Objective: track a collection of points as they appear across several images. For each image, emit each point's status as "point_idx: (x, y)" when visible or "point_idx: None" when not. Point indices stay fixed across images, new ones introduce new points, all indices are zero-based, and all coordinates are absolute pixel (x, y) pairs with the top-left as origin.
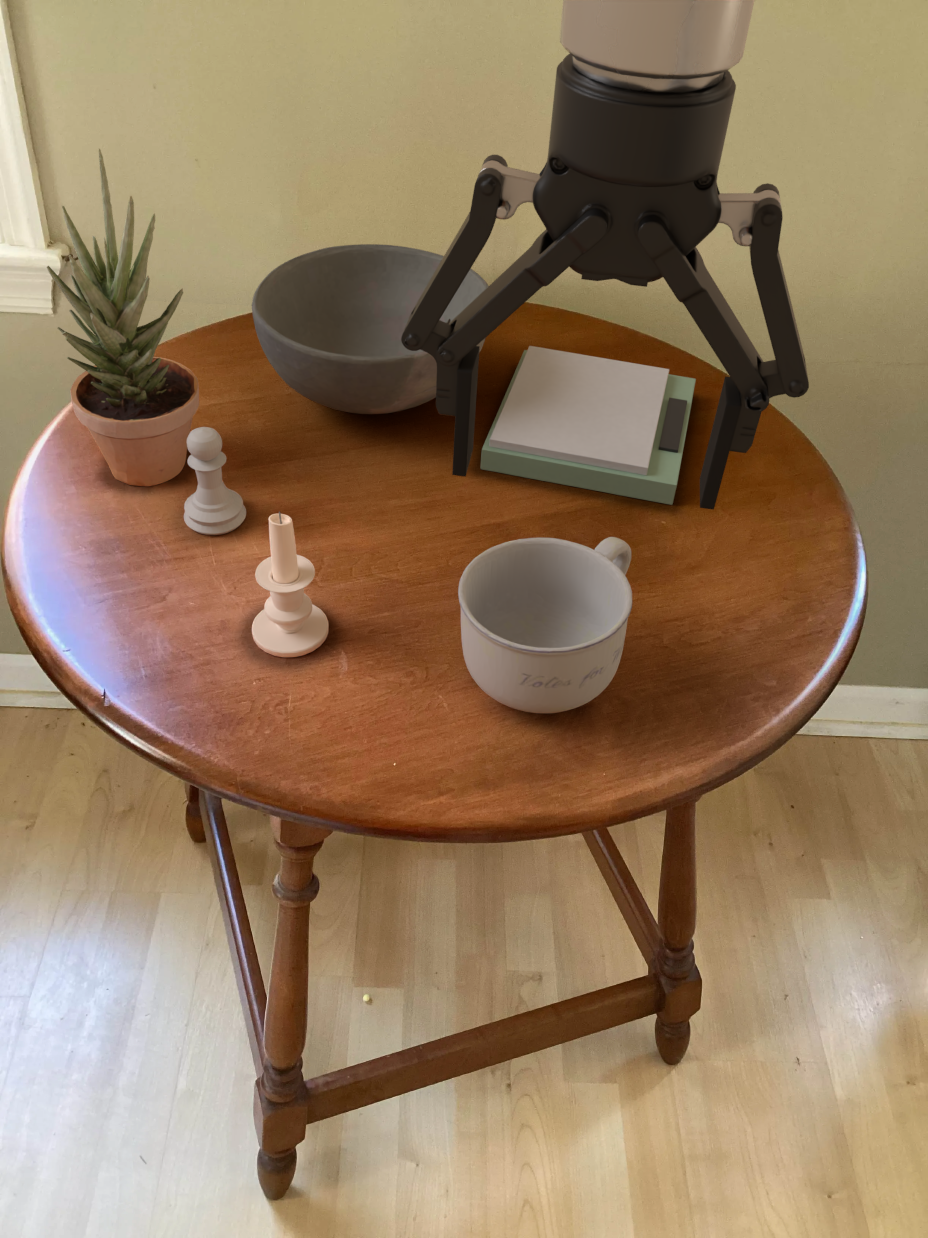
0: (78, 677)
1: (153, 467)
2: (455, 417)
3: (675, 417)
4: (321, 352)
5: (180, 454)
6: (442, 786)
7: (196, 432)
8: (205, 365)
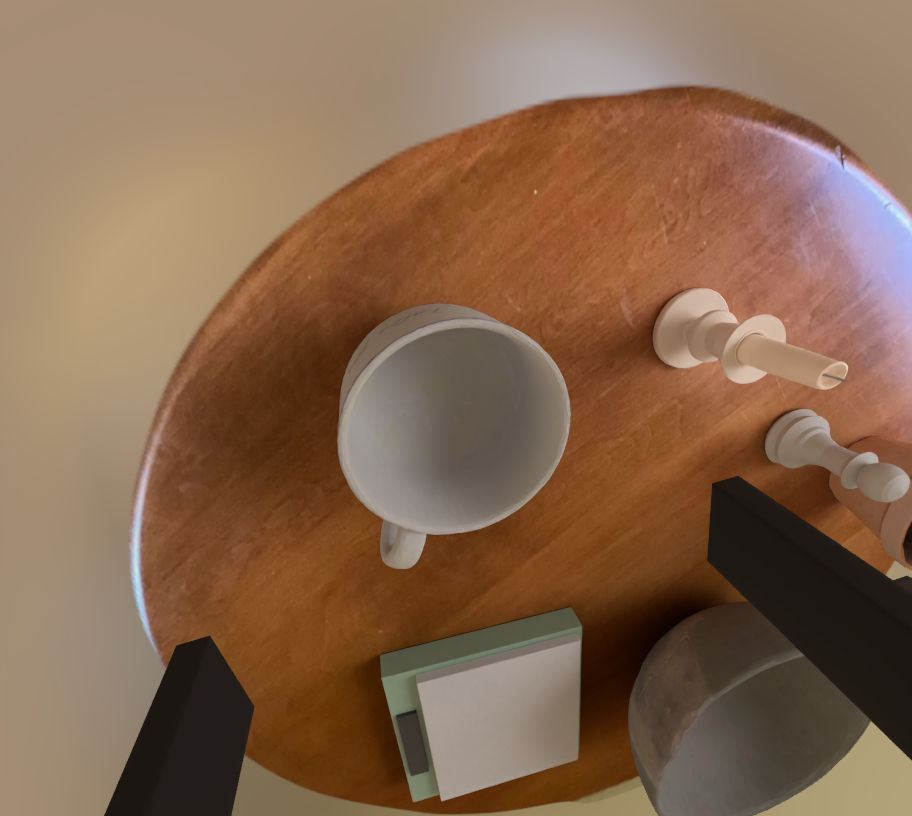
0: (870, 173)
1: None
2: (888, 579)
3: (414, 752)
4: None
5: None
6: (475, 180)
7: (906, 486)
8: None
